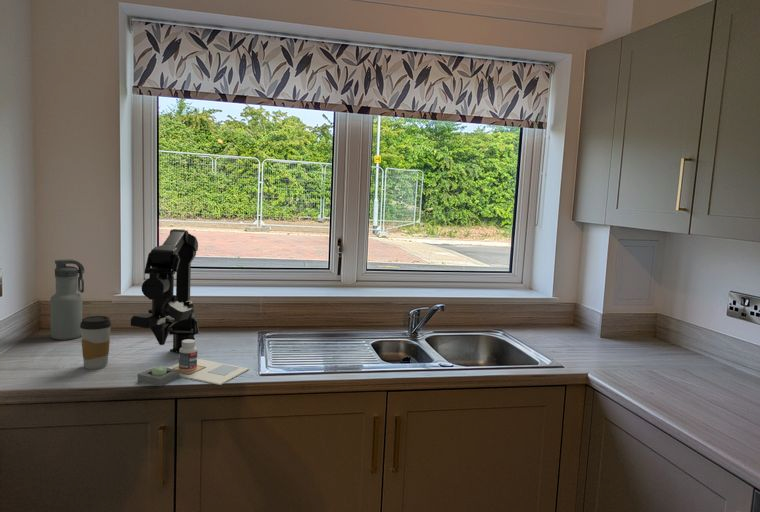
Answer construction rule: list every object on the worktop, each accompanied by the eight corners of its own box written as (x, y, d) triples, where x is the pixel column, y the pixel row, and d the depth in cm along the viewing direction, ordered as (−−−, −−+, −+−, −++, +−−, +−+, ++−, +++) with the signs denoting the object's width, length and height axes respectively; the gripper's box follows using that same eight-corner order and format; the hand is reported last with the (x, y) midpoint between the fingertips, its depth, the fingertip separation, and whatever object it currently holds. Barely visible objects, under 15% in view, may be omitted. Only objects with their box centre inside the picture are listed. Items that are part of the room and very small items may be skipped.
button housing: (137, 381, 146) (137, 374, 145) (157, 373, 153) (158, 366, 153) (160, 386, 143) (160, 379, 143) (179, 377, 151) (179, 370, 150)
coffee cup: (117, 364, 158) (117, 317, 156) (94, 372, 150) (94, 323, 149) (97, 360, 161) (97, 314, 159) (73, 367, 153) (73, 319, 151)
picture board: (159, 372, 154) (159, 370, 154) (191, 358, 168) (192, 357, 168) (220, 385, 147) (220, 383, 147) (249, 369, 161) (249, 368, 161)
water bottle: (80, 331, 190) (79, 257, 186) (86, 337, 183) (86, 261, 179) (48, 335, 183) (47, 258, 180) (53, 342, 176) (52, 262, 172)
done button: (148, 377, 147) (148, 369, 147) (158, 373, 151) (158, 365, 150) (159, 379, 146) (159, 371, 145) (169, 375, 149) (169, 367, 149)
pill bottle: (190, 372, 154) (191, 344, 153) (175, 370, 155) (175, 342, 154) (200, 367, 159) (200, 339, 158) (185, 365, 160) (185, 337, 159)
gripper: (162, 300, 135) (161, 357, 136) (206, 290, 152) (205, 341, 154) (129, 295, 138) (128, 351, 139) (176, 286, 156) (175, 336, 157)
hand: (161, 344), depth 147 cm, fingers closed
